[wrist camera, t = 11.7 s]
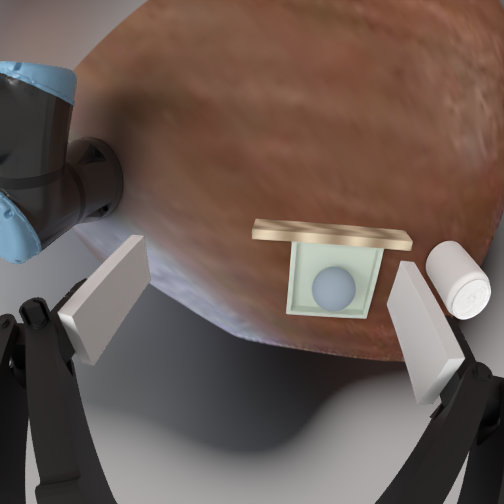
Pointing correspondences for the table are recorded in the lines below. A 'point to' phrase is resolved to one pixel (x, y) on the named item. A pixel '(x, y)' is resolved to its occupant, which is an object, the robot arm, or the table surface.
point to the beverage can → (458, 280)
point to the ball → (333, 289)
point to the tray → (324, 256)
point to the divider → (331, 234)
